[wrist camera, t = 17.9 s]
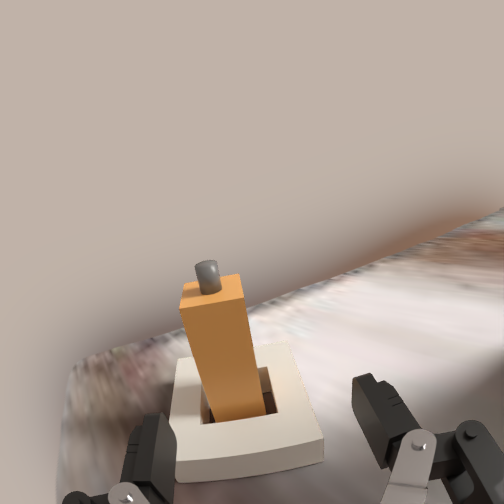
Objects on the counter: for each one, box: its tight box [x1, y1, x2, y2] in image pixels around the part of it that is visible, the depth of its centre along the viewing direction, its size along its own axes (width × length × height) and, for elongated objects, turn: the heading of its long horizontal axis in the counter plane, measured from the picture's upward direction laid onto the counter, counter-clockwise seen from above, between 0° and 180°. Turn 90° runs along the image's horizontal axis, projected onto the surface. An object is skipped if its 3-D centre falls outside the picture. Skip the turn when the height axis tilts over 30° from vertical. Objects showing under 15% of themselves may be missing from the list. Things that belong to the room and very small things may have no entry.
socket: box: [169, 340, 324, 483], centre depth 27 cm, size 14×12×4 cm
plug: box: [179, 260, 266, 423], centre depth 25 cm, size 4×4×16 cm
